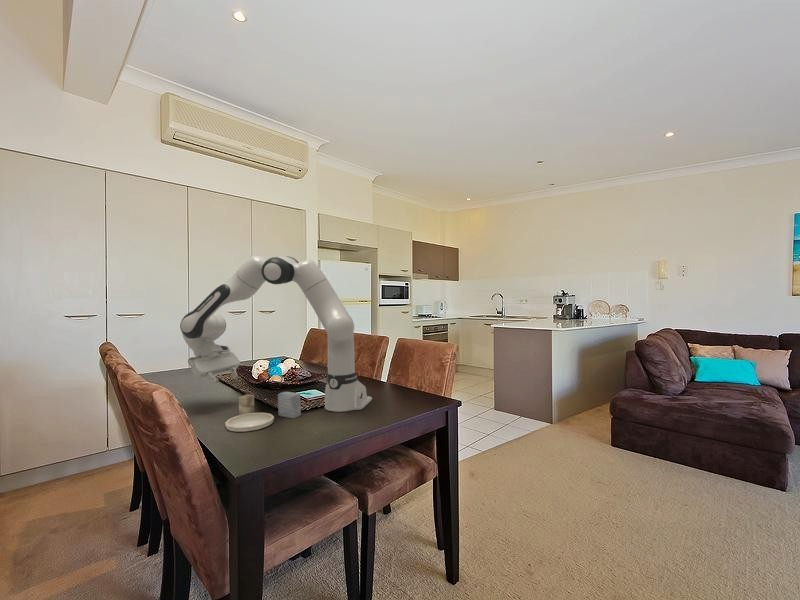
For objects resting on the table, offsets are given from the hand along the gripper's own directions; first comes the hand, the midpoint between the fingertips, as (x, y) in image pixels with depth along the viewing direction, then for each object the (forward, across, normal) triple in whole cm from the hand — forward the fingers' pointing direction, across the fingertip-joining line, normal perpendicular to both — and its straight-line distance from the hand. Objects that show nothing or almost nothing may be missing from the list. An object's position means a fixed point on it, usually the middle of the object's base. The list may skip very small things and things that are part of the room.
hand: (226, 379), depth 156 cm
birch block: (+17, 0, +1) cm, 17 cm away
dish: (+24, -9, -6) cm, 27 cm away
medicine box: (+30, +4, -11) cm, 32 cm away
